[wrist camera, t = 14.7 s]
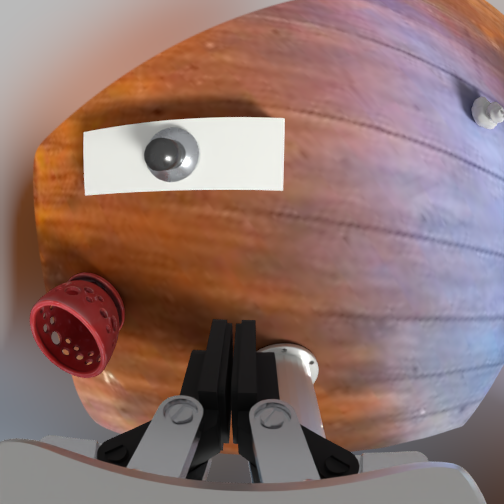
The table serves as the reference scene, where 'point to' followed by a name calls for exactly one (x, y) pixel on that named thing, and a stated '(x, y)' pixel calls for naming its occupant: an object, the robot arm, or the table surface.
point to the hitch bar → (210, 164)
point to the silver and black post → (172, 154)
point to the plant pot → (79, 323)
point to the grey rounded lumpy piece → (487, 113)
